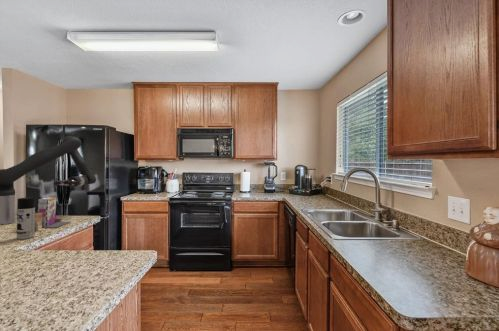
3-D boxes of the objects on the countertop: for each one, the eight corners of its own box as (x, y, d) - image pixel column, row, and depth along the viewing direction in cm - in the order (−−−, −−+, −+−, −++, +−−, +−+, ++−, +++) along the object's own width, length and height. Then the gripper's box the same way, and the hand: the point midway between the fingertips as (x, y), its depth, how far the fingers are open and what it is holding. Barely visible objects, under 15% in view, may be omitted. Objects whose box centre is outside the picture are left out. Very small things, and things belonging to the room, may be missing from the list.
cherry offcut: (27, 222, 137) (27, 214, 137) (34, 220, 141) (34, 212, 141) (35, 222, 137) (35, 214, 137) (42, 220, 141) (42, 212, 141)
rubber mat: (44, 228, 142) (44, 227, 142) (59, 222, 155) (59, 221, 155) (57, 227, 143) (57, 226, 143) (70, 222, 156) (70, 221, 156)
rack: (17, 232, 133) (17, 224, 133) (45, 222, 155) (46, 215, 155) (35, 231, 134) (35, 224, 134) (61, 222, 157) (61, 215, 157)
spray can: (13, 239, 121) (13, 198, 121) (28, 235, 128) (28, 196, 128) (23, 240, 120) (23, 199, 120) (38, 236, 126) (38, 197, 126)
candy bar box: (47, 227, 144) (47, 199, 144) (37, 227, 142) (37, 199, 142) (56, 222, 154) (56, 196, 154) (46, 223, 153) (47, 196, 153)
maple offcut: (27, 230, 136) (27, 222, 136) (32, 228, 141) (32, 220, 140) (37, 230, 137) (37, 222, 137) (41, 228, 142) (42, 220, 141)
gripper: (65, 176, 177) (50, 177, 160) (86, 176, 178) (73, 177, 162) (65, 186, 177) (49, 189, 161) (86, 186, 178) (73, 189, 162)
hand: (61, 183), depth 161 cm, fingers open, 8 cm apart
